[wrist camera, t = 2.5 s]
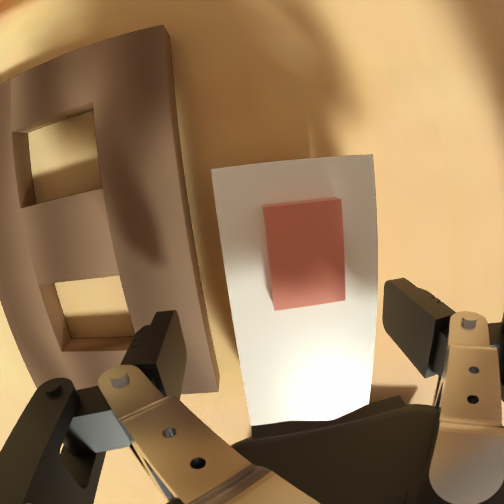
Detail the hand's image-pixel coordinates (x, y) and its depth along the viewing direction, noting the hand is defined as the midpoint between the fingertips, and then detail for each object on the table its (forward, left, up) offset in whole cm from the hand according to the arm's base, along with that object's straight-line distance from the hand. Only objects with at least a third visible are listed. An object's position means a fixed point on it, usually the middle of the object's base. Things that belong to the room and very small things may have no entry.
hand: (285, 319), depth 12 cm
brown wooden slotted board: (+10, -4, -4) cm, 11 cm away
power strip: (0, 0, -4) cm, 4 cm away
